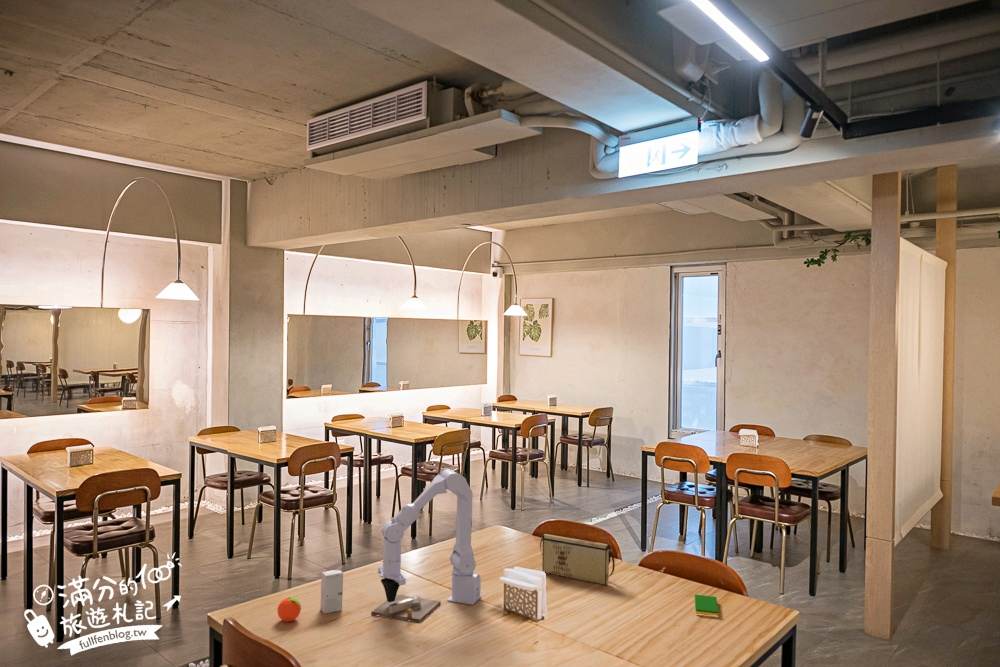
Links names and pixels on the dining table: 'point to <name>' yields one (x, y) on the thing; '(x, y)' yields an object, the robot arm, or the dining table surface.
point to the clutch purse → (576, 558)
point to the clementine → (289, 609)
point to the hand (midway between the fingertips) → (391, 601)
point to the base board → (410, 613)
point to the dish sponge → (706, 605)
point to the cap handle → (405, 604)
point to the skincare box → (331, 591)
